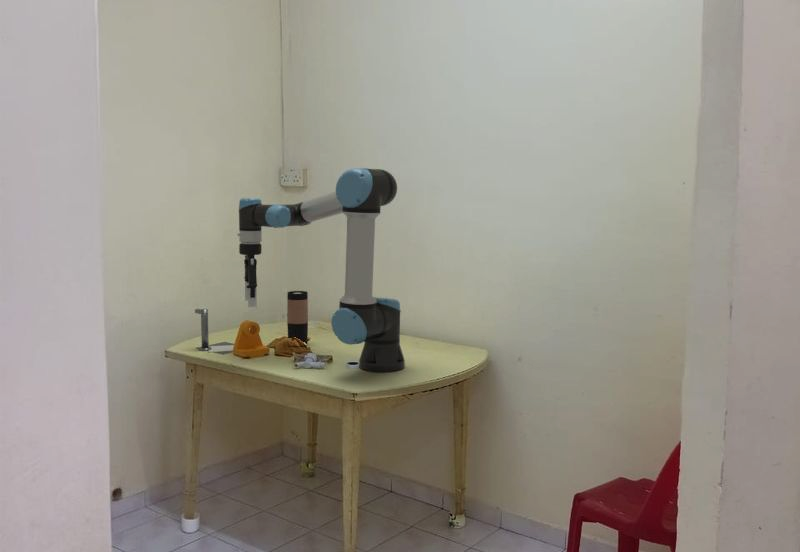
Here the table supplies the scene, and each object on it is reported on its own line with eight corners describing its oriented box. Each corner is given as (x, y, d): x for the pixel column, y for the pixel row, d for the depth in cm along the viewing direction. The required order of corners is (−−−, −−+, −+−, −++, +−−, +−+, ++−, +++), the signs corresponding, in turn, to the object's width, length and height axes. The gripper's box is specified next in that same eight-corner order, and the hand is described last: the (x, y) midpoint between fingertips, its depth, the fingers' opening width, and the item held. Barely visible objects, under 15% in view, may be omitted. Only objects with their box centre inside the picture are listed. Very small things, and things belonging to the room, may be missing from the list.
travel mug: (284, 343, 270) (284, 291, 268) (303, 341, 274) (303, 290, 272) (292, 347, 264) (291, 294, 261) (311, 345, 267) (311, 292, 265)
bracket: (243, 359, 245) (243, 325, 243) (233, 355, 250) (232, 322, 249) (270, 355, 252) (270, 321, 250) (260, 351, 257) (259, 318, 256)
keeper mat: (222, 356, 248) (222, 355, 248) (192, 349, 258) (192, 348, 258) (257, 349, 261) (257, 347, 261) (226, 342, 271) (226, 341, 271)
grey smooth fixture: (214, 349, 257) (213, 309, 256) (204, 351, 254) (203, 310, 252) (202, 346, 261) (201, 307, 259) (192, 348, 258) (191, 308, 256)
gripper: (236, 240, 257) (237, 298, 260) (241, 246, 233) (242, 310, 236) (257, 240, 259) (258, 297, 262) (265, 246, 236) (265, 309, 238)
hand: (250, 303), depth 249 cm, fingers open, 13 cm apart
